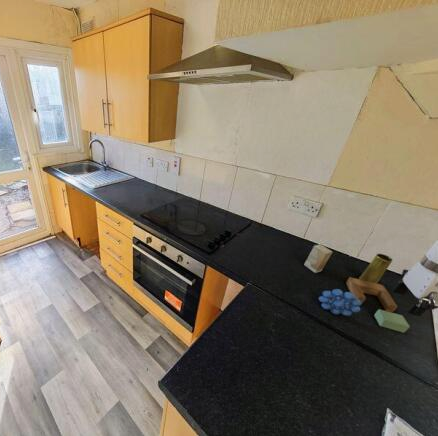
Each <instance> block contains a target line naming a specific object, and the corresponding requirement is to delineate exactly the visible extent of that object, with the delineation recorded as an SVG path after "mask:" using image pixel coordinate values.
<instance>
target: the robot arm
mask: <svg viewBox="0 0 438 436" xmlns="http://www.w3.org/2000/svg"><path fill="white" fill-rule="evenodd" d="M399 277H400V279H399V280H398V282H397V284H396V285H395V286H394V288H393V289H392V293H393V294H399V295H401V296H405V294H406V293H407V292H408V291H410V292H411V293H412V295H413V296H414V297H415V298H416V303H413V304H412V305H411V306H410V307H409V308H408V310H407V311H406V312H407V313H408V314H409V315H413V316H416V317H421V316H422V315H423V314H425V312H426V311H430V310H432V311H434V310H435V309H438V239H437V240H436V241H435V242H434V244H433V245H432V246H431V247H430V248H429V249H428V251H427V252H426V253H425V254H424V255H423V256H422V257H421V259H420V260H419V261H418V262H416V263H415V264H414V265H413V266H412V267H411V268H410V269H405V268H404V269H403V270H402V273H401V274H400V276H399ZM423 301H425V303H423Z"/></svg>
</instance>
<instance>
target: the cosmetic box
mask: <svg viewBox="0 0 438 436" xmlns="http://www.w3.org/2000/svg"><path fill="white" fill-rule="evenodd" d="M332 254H333V251H332V250H331V249H329V248H328V247H326V246H325V245H323V244H321V243H319V244H315V245H313V246H312V249H311V251H310V252H309V255H308V257H307V258H306V260H305V262H304V264H303V265H304V266H305V267H306V268H307V269H309V270H310V271H311V272H313V273H314V274H317V273H320V272H322V271H323V269H324V268H325V266H326V264H327V262H328V261H329V259H330V258H331V255H332Z"/></svg>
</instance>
